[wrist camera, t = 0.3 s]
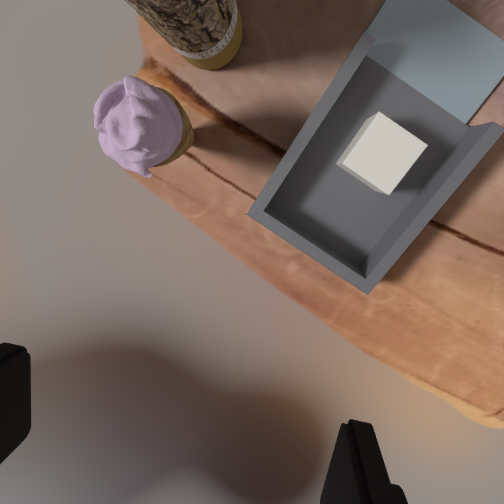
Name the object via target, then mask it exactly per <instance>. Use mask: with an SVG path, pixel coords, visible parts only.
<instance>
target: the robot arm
mask: <svg viewBox="0 0 504 504" xmlns="http://www.w3.org/2000/svg"><path fill="white" fill-rule="evenodd" d="M30 367H31V366H30V354H29V353H27V349H26V348H25V347H23V346H19V345H14V344H10V343H2V344H0V464H1V463H2V462H3V461H4V460H5V459H6V458H7V457H8V456H9V455H10V454H11V453H12V452H13V451H14V450H15V449H16V448H17V446H19V445H20V444H21V442H22V441H24V439H25V438H26V437H27V435H28V434H29V431H30V429H31V371H30V369H31V368H30ZM320 504H408V502H407V500H406V497H405V495H404V492H403V490H402V488H401V487H400V486H399V485H395V484H391V483H390V480H389V477H388V474H387V470H386V467H385V464H384V461H383V458H382V454H381V451H380V448H379V445H378V442H377V439H376V435H375V432H374V429H373V426H372V425H371V424H370V423H366V422H361V421H357V420H353V419H350V420H349V421H348V424H344V423H342V424H341V427H340V430H339V433H338V437H337V441H336V444H335V448H334V451H333V455H332V458H331V462H330V465H329V469H328V473H327V476H326V480H325V483H324V487H323V491H322V494H321V499H320Z"/></svg>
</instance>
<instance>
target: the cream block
mask: <svg viewBox="0 0 504 504" xmlns="http://www.w3.org/2000/svg"><path fill="white" fill-rule="evenodd" d="M427 146H428V145H427V144H426V143H424V142H423V141H421V140H420V139H418V138H417V137H415V136H414V135H413V134H411V133H410V132H408V131H407V130H405V129H404V128H402V127H401V126H399V125H398V124H397V123H395V122H394V121H392V120H391V119H389V118H388V117H386V116H385V115H384V114H382V113H381V112H377V113H376V114H374V115H373V116H371V117H370V118H368V119H367V120H366V121H365V122H364V124H363V125H362V127H361V128H360V130H359V131H358V132H357V134H356V135H355V137H354V138H353V140H352V141H351V142H350V144H349V145H348V147H347V148H346V150H345V151H344V153H343V154H342V155H341V157H340V158H339V160H338V161H337V163H336V165H338V166H339V167H341V168H342V169H344V170H345V171H347V172H348V173H350V174H351V175H352V176H354V177H355V178H357V179H358V180H360V181H361V182H363V183H364V184H366V185H367V186H369V187H370V188H372V189H373V190H375V191H377V192H380V193H383V194H386V195H390V193H391V192H392V191H393V190H394V188H395V187H396V186H397V184H398V183H399V182H400V181H401V179H402V178H403V177H404V175H405V174H406V173H407V171H408V170H409V169H410V168H411V166H412V165H413V164H414V162H415V161H416V160H417V159H418V157H419V156H420V155H421V153H422V152H423V151H424V149H425V148H426V147H427Z"/></svg>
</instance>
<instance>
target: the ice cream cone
mask: <svg viewBox="0 0 504 504" xmlns="http://www.w3.org/2000/svg"><path fill="white" fill-rule="evenodd" d="M93 111H94V115H95V120H94V127H95V129H97V130H98V131H99V132H100V133H99V142H100V145H101V147H102V149H103V151H104V153H105V154H106V155H107V156H109V157H110V158H112V159H114V160H115V161H117V162H118V163H119V164H120V165H121V166H122V167H123V168H125V169H127V170H130V171H134V172H136V173H138V174H140V175H142V176H144V177H147V178H150V177H151V174H152V173H150V172H148V168H151V167H157V166H162V165H165V164H168V163H170V162H172V161H174V160H175V159H177V158H179V157H180V156H182V155H183V154H184V153H185V152H186V151H187V150H188V149H189V148H190V147H191V145H192V144H193V142H194V140H195V136H194V132H193V128H192V125H191V122H190V120H189V118H188V116H187V114H186V112H185V111H184V109H183V108H182V106H181V105H180V103H179V102H178V101H177V100H176V98H175V97H174V96H173V95H171V94H170V93H169V92H167V91H165V90H163V89H161V88H158V87H155V86H153V85H149V84H148V83H146V82H145V81H143V80H141V79H139V78H136V77H132V76H126V77H125V78H124V79H123V80H120V81H117V82H114V83H112V84H111V85H110V86H108V87H107V88H106V89H105V90H104V91H103V92H102V93H101V95H100V96H99V98H98V100H97V102H96V103H95V106H94V109H93Z"/></svg>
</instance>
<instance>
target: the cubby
mask: <svg viewBox="0 0 504 504" xmlns="http://www.w3.org/2000/svg"><path fill="white" fill-rule="evenodd" d="M503 76H504V40H502V39H501V38H499V37H498V36H497V35H495V34H494V33H492V32H491V31H490V30H488V29H487V28H485V27H484V26H483V25H481V24H480V23H478V22H477V21H475V20H474V19H473V18H471V17H470V16H468V15H467V14H466V13H464V12H463V11H461V10H460V9H459V8H457V7H456V6H454V5H453V4H452V3H450V2H449V1H447V0H386V1H385V3H384V5H383V6H382V8H381V9H380V11H379V12H378V14H377V15H376V17H375V19H374V20H373V22H372V23H371V25H370V26H369V28H368V29H367V31H366V32H365V31H364V32H363V34H362V35H361V37H360V38H359V40H358V42H357V43H356V45H355V46H354V48H353V49H352V51H351V52H350V54H349V56H348V57H347V59H346V60H345V62H344V63H343V65H342V66H341V68H340V70H339V71H338V73H337V74H336V76H335V77H334V79H333V80H332V82H331V84H330V85H329V87H328V88H327V90H326V91H325V93H324V94H323V96H322V98H321V99H320V101H319V102H318V104H317V105H316V107H315V108H314V110H313V112H312V113H311V115H310V116H309V118H308V119H307V121H306V122H305V124H304V126H303V127H302V129H301V130H300V132H299V133H298V135H297V136H296V138H295V140H294V141H293V143H292V144H291V146H290V147H289V149H288V150H287V152H286V154H285V155H284V157H283V158H282V160H281V161H280V163H279V164H278V166H277V168H276V169H275V171H274V172H273V174H272V175H271V177H270V178H269V180H268V182H267V183H266V185H265V186H264V188H263V189H262V191H261V192H260V194H259V196H258V197H257V199H256V200H255V202H254V203H253V205H252V206H251V208H250V210H249V211H248V213H247V214H246V215H248V216H249V217H251V218H252V219H254V220H255V221H257V222H258V223H260V224H261V225H263V226H264V227H266V228H267V229H269V230H270V231H272V232H273V233H275V234H276V235H278V236H280V237H281V238H283V239H284V240H286V241H287V242H289V243H290V244H292V245H293V246H295V247H296V248H298V249H299V250H301V251H302V252H304V253H305V254H307V255H308V256H310V257H311V258H313V259H314V260H316V261H317V262H319V263H320V264H322V265H323V266H325V267H326V268H328V269H329V270H331V271H332V272H334V273H335V274H337V275H338V276H340V277H341V278H343V279H344V280H346V281H347V282H349V283H350V284H352V285H353V286H355V287H356V288H358V289H359V290H361V291H362V292H364V293H365V294H367V295H368V294H369V293H370V292H371V291H372V290H373V288H374V287H375V286H376V285H377V284H378V282H379V281H380V280H381V279H382V278H383V276H384V275H385V274H386V273H387V272H388V270H389V269H390V268H391V267H392V266H393V264H394V263H395V262H396V261H397V260H398V258H399V257H400V256H401V255H402V254H403V252H404V251H405V250H406V249H407V248H408V246H409V245H410V244H411V243H412V242H413V240H414V239H415V238H416V237H417V236H418V234H419V233H420V232H421V231H422V230H423V228H424V227H425V226H426V225H427V224H428V222H429V221H430V220H431V219H432V218H433V216H434V215H435V214H436V213H437V212H438V210H439V209H440V208H441V207H442V206H443V204H444V203H445V202H446V201H447V200H448V198H449V197H450V196H451V195H452V194H453V192H454V191H455V190H456V189H457V188H458V186H459V185H460V184H461V183H462V182H463V180H464V179H465V178H466V177H467V176H468V174H469V173H470V172H471V171H472V170H473V168H474V167H475V166H476V165H477V164H478V162H479V161H480V160H481V159H482V158H483V156H484V155H485V154H486V153H487V152H488V150H489V149H490V148H491V147H492V146H493V144H494V143H495V142H496V141H497V140H498V138H499V137H500V136H501V135H502V134H503V132H504V128H503V127H501V126H500V125H498V124H497V123H495V122H490V123H486V124H481V125H477V126H472V127H469V126H467V125H466V123H467V122H468V120H469V119H470V118H471V117H472V115H473V114H474V113H475V112H476V110H477V109H478V108H479V106H480V105H481V104H482V103H483V101H484V100H485V99H486V98H487V96H488V95H489V94H490V93H491V91H492V90H493V89H494V88H495V86H496V85H497V84H498V82H499V81H500V80H501V79H502V77H503ZM377 112H381V113H382V114H384V115H385V116H386V117H388V118H389V119H391V120H392V121H394V122H395V123H397V124H398V125H399V126H401V127H402V128H404V129H405V130H407V131H408V132H410V133H411V134H413V135H414V136H415V137H417V138H418V139H420V140H421V141H423V142H424V143H426V144H427V145H428V146H427V147H426V148H425V149H424V151H423V152H422V153H421V155H420V156H419V157H418V159H417V160H416V161H415V162H414V164H413V165H412V166H411V168H410V169H409V170H408V171H407V173H406V174H405V175H404V177H403V178H402V179H401V181H400V182H399V183H398V184H397V186H396V187H395V188H394V190H393V191H392V192H391V193H390V195H386V194H383V193H380V192H377V191H375V190H373V189H372V188H370V187H369V186H367V185H366V184H364V183H363V182H361V181H360V180H358V179H357V178H355V177H354V176H352V175H351V174H350V173H348V172H347V171H345V170H344V169H342V168H341V167H339V166H338V165H336V163H337V161H338V160H339V158H340V157H341V155H342V154H343V153H344V151H345V150H346V148H347V147H348V145H349V144H350V142H351V141H352V140H353V138H354V137H355V135H356V134H357V132H358V131H359V130H360V128H361V127H362V125H363V124H364V122H365V121H366V120H367V119H368V118H370V117H371V116H373V115H374V114H376V113H377Z"/></svg>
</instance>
